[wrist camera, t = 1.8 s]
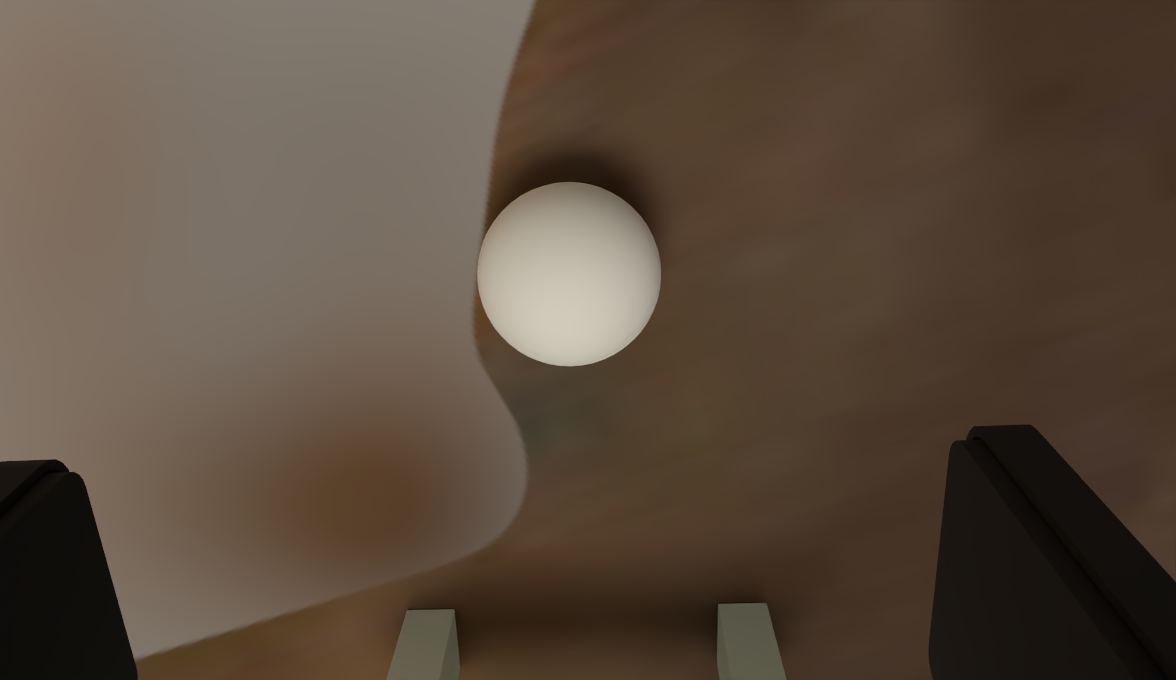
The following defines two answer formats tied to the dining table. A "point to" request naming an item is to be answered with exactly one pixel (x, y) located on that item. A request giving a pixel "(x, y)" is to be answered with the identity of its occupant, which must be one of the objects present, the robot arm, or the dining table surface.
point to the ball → (569, 274)
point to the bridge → (743, 645)
